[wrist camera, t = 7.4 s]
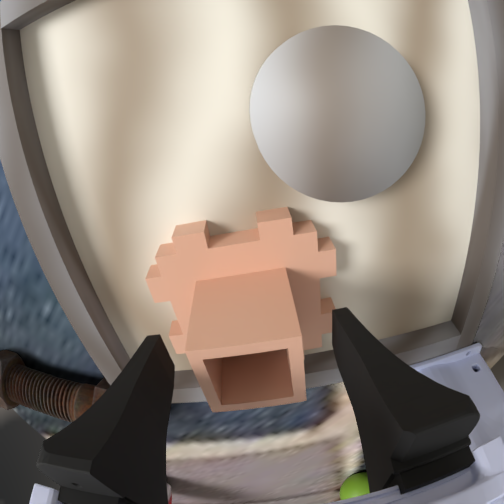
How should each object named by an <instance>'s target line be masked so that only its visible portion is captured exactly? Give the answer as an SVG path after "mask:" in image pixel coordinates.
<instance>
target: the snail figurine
mask: <svg viewBox="0 0 504 504" xmlns="http://www.w3.org/2000/svg"><path fill="white" fill-rule="evenodd" d="M369 493H370V491H369V484H368V477H367V473H364V472H363V473H357V474H354V475H352V476H350V477H349V478H347V479H346V480H345V481H344V483H343V484H342V486H341V489H340V498H341V500H345V499H349V498H353V497H357V496H361V495H365V494H369Z"/></svg>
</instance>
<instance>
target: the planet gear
mask: <svg viewBox="0 0 504 504" xmlns="http://www.w3.org/2000/svg"><path fill="white" fill-rule="evenodd" d="M256 218H257V225H258V228H256V229H249V230H243V231H237V232H231V233H225V234H219V235H213V236H210V234H209V230H208V225H207V221H206V220H203V221H198V222H192V223H187V224H181V225H176V227H175V229H174V232H173V235H172V237H171V238H172V241H173V242H172V243H166V244H161V245H160V246H159V249H158V251H157V253H156V256H155V260H156V263H157V264H155V265H151V266H150V268H149V271H148V273H147V276H146V278H145V280H146V282H147V285H148V287H149V290H150V293H151V295H152V298H153V300H154V303H159V302H167V301H170V302H171V304H172V307H173V310H174V312H175V315H176V317H177V320H175V321H172V323H171V327H170V332H169V338H170V340H171V343H172V345H173V347H174V349H175V352H176V354H184V353H186V356H187V358H188V360H189V362H190V365H191V367H192V369H193V371H194V374H195V376H196V378H197V380H198V382H199V385H200V387H201V389H202V391H203V393H204V395H205V398H206V400H207V402H208V404H209V406H210V408H211V410H212V412H223V411H234V410H244V409H253V408H261V407H269V406H276V405H283V404H289V403H296V402H302V401H306V386H305V371H304V360H305V358H304V350H308V349H314V348H319V347H322V334H326V333H331V332H332V310H334V309H335V306H334V303H333V301H332V298H331V297H329V298H324V299H321V296H320V278H325V277H331V276H337V275H336V248H335V247H334V245H333V243H332V241H331V239H330V237H324V238H318V239H317V231H316V229H315V227H314V225H313V223H312V221H311V220H307V221H300V222H294V223H292V218H291V215H290V212H289V210H288V207H282V208H276V209H270V210H263V211H257V212H256Z"/></svg>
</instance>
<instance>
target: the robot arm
mask: <svg viewBox="0 0 504 504" xmlns="http://www.w3.org/2000/svg"><path fill="white" fill-rule="evenodd" d="M332 346H333V351H334V355H335V359H336V363H337V366H338V369H339V372H340V374H341V377H342V380H343V382H344V385H345V388H346V390H347V393H348V396H349V399H350V401H351V404H352V407H353V410H354V413H355V417H356V421H357V425H358V430H359V434H360V439H361V444H362V449H363V454H364V459H365V465H366V471H367V477H368V484H369V491H370V493H369V494H365V495H361V496H357V497H353V498H349V499H345V500H340V501H335V502H331V503H325V504H504V391H503V390H502V388H501V386H500V385H499V383H498V381H497V380H496V378H495V377H494V375H493V373H492V372H491V370H490V368H489V367H488V365H487V364H486V362H485V361H484V359H483V358H482V356H481V355H480V350H481V348H482V345H481V344H480V343H476V344H473V345H470V346H468V347H465V348H462V349H459V350H457V351H454V352H451V353H448V354H445V355H442V356H439V357H436V358H433V359H429V360H426V361H423V362H420V363H416V364H413V365H408V364H406V363H405V362H404V361H402V360H401V359H400V358H398V357H397V356H396V355H395V354H393V353H392V352H391V351H390V350H389V349H387V348H386V347H385V346H384V345H383V344H382V343H381V342H380V341H379V340H378V339H377V338H376V337H375V336H373V335H372V334H371V333H370V332H369V331H368V330H367V329H366V327H365V326H364V325H363V324H362V323H361V322H360V321H359V320H358V319H357V318H356V317H355V315H354V314H353V313H352V312H351V311H350V310H349V309H348V308H347V307H344V308H339V309H334V310H332ZM174 378H175V365H174V363H173V361H172V359H171V357H170V355H169V352H168V350H167V348H166V346H165V344H164V342H163V340H162V337H161V335H160V334H158V335H147V336H146V338H145V339H144V341H143V342H142V343H141V345H140V346H139V348H138V349H137V351H136V352H135V353H134V355H133V356H132V358H131V359H130V361H129V362H128V363H127V365H126V366H125V367H124V369H123V370H122V372H121V373H120V374H119V375H118V377H117V378H116V379H115V381H114V382H113V383H112V384H111V386H110V387H109V388H108V389H107V390H106V391H105V393H104V394H103V395H102V396H101V397H100V398H99V399H98V400H97V401H96V402H95V403H94V404H93V405H92V406H91V407H90V408H89V409H88V410H86V411H85V412H84V413H83V414H82V415H81V416H80V417H79V418H77V419H76V420H75V421H74V422H72V423H71V424H70V425H68V426H67V427H65V428H64V429H63V430H61V431H60V432H58V433H56V434H55V435H53V436H52V437H50V438H48V439H47V440H45V441H44V442H43V444H42V447H41V450H40V454H39V457H38V460H37V463H36V465H37V468H38V469H39V470H40V471H41V472H42V473H43V474H44V475H46V476H47V477H49V478H50V479H52V480H53V481H54V482H56V483H57V484H59V485H60V486H61V487H60V491H58V490H56V489H53V488H49V487H46V486H43V485H40V484H34V487H33V491H32V495H31V499H30V503H29V504H169V503H168V494H167V480H166V436H167V427H168V421H169V415H170V409H171V403H172V397H173V390H174Z"/></svg>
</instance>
